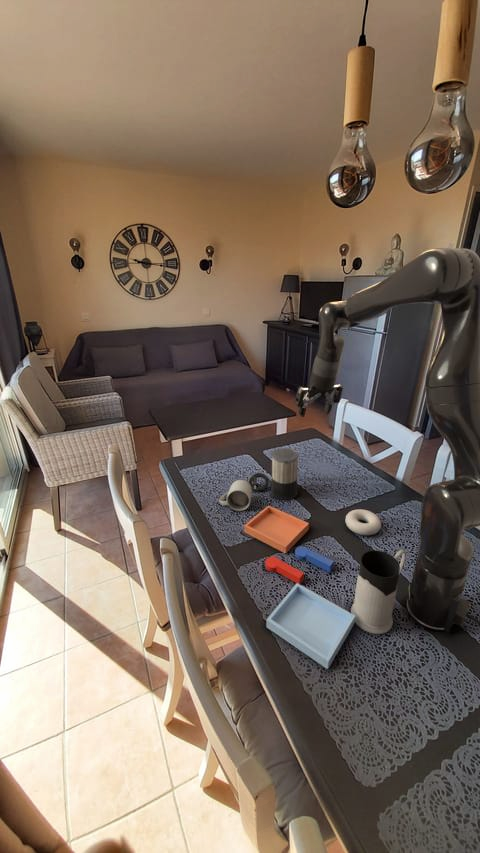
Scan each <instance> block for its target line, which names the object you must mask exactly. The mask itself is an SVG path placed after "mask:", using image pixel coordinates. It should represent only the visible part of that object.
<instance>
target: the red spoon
mask: <svg viewBox="0 0 480 853" xmlns="http://www.w3.org/2000/svg"><path fill="white" fill-rule="evenodd" d="M265 569H266V570H267V571H269V572H271V573H278V574H280V575H281V576H283V577H285V578H287V579H288V580H290V581H292V582H293V583H295V584H297V583H298V584H300V585H301V583H302V582H303V581H304V580H305V579H304V578H305V573H304V572H303V571H301V570H299V569H297V568H295V567H294V566H292V565H290V564H288V563H286V562H284V561H283V560H280V559H279V558H278V557H276V556H269V557H268V558H266V560H265Z"/></svg>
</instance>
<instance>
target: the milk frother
mask: <svg viewBox="0 0 480 853" xmlns="http://www.w3.org/2000/svg"><path fill="white" fill-rule="evenodd" d="M270 456H271V479H270V478H269V477H268V475H266V474H264V473H261V472H257V473H254V474H253V475H251V477H250V478H249V479H248V481H247V482H248V483H249V484H250V486H251V488H252V491H254V492H263V491H265V490H266V489H267V488H268V487H269V485H270V484H271V488H270V494H271V495H272V497H274V498H276V499H278V500H292V499H294V498H296V497H297V496H298V493H299V492H298V473H299V472H298V470H299V458H300V454H299V452H298V451H297V450H296V449H295V450H294V449H292V448H288V447H287V448H286V447H285V448H284V447H283V448H277V449H274V450H273V451H271V454H270ZM258 478H261V479H263V480H264V481H265V483H264V485H263V486H260V487H259V483H258Z"/></svg>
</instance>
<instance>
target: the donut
mask: <svg viewBox="0 0 480 853" xmlns="http://www.w3.org/2000/svg"><path fill="white" fill-rule="evenodd" d="M344 522H345V524H346V527H347V528H348V530H350V531H352V532H353V533H355V534H357V535H360V536H373V535H376V534H377V533H378V532H379V531H380V530H381V528H382V521H381V520H380V517H378V516H377V514H375V513H374V512H373V511H370V510H367V509H361V508H360V509H357V508H356V509H353V510H351V511H349V512H348V513H347V514H346V515H345V521H344ZM364 522H365V523H364Z"/></svg>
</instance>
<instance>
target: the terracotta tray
mask: <svg viewBox="0 0 480 853" xmlns="http://www.w3.org/2000/svg"><path fill="white" fill-rule="evenodd" d="M309 530H310V522H307V521H305V520H303V519H300V518H298V517H296V516H294V515H292V514H289V513H287V512H285V511H282V510H280V509H278V508H275V507H273V506H271V505H268V506H266V507H265V508H264V509H262V510H261V511H260V512H259V513H257V514H256V515H255V516H254V517H253V518H251V519H250V520H249V521H248V522H246V524H244V525H243V532H244V533H246V535H249V536H250V537H252V538H255V539H256V540H258V541H261V542H263V543H264V544H266V545H268V546H270V547H272V548H274V549H276V550H278V551H279V552H281V553H284V554H287V553H288V552H289V551H290V550H291V549H292V548H293V547H294V546H295V545H296V543H297V542H299V540H301V538H302V537H303V536H304V535H305V534H307V532H308V531H309Z"/></svg>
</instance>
